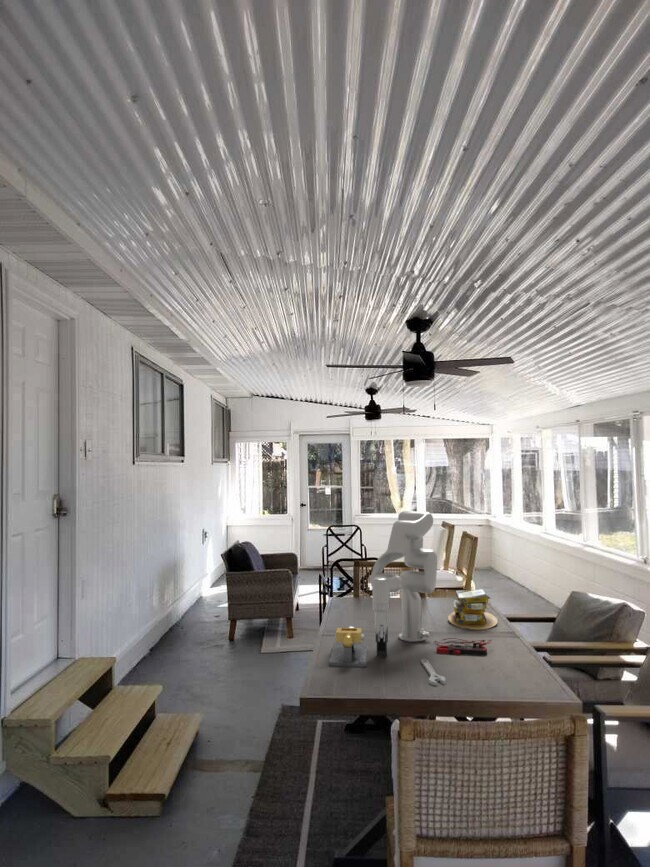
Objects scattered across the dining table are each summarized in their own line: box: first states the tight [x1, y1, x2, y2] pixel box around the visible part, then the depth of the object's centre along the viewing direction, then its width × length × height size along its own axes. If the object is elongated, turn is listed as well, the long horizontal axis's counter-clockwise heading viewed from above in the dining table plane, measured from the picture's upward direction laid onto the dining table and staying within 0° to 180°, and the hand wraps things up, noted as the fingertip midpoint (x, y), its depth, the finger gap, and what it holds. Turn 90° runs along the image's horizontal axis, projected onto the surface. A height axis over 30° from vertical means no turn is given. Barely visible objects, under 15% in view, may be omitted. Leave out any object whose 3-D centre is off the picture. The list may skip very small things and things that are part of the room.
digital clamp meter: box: [434, 637, 492, 656], centre depth 248 cm, size 23×4×25 cm
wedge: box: [375, 626, 389, 657], centre depth 237 cm, size 2×5×12 cm, turn 84°
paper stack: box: [447, 588, 498, 630], centre depth 288 cm, size 25×25×17 cm
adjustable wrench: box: [420, 659, 446, 686], centre depth 216 cm, size 25×6×2 cm, turn 178°
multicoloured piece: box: [328, 624, 368, 668], centre depth 237 cm, size 25×15×11 cm, turn 174°
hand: (381, 649), depth 237 cm, fingers open, 3 cm apart
